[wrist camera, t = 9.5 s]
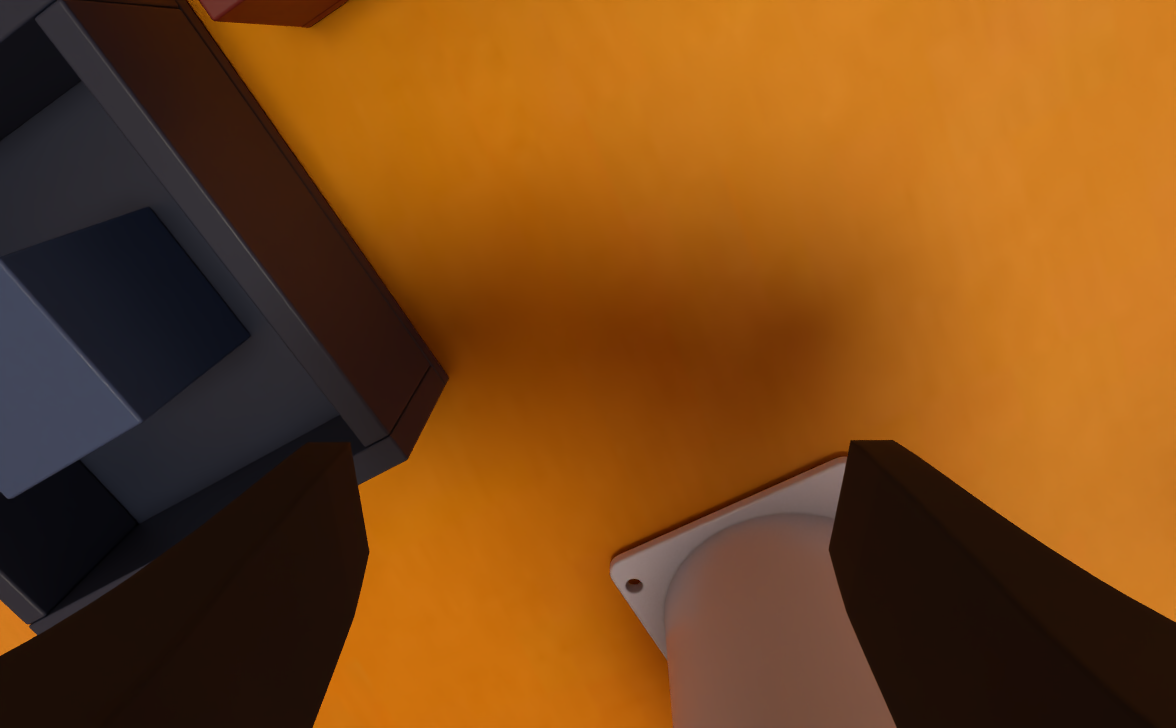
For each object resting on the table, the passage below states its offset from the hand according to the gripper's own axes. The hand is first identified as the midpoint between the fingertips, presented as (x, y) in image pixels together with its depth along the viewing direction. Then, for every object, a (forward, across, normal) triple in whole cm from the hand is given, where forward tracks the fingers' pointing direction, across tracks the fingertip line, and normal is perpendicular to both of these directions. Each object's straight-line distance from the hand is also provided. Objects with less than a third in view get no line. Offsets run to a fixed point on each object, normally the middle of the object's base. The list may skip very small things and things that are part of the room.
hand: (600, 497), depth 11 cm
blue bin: (+10, +12, +1) cm, 15 cm away
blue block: (+10, +12, +1) cm, 15 cm away
